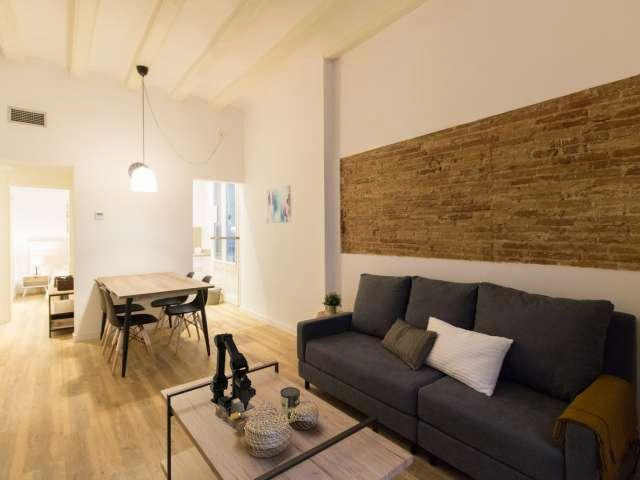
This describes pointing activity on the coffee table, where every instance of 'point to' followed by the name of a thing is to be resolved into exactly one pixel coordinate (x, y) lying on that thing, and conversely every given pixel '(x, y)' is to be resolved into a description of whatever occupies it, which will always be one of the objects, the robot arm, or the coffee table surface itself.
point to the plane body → (236, 423)
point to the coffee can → (289, 400)
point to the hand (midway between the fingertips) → (237, 413)
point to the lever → (235, 416)
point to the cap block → (224, 408)
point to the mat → (242, 406)
